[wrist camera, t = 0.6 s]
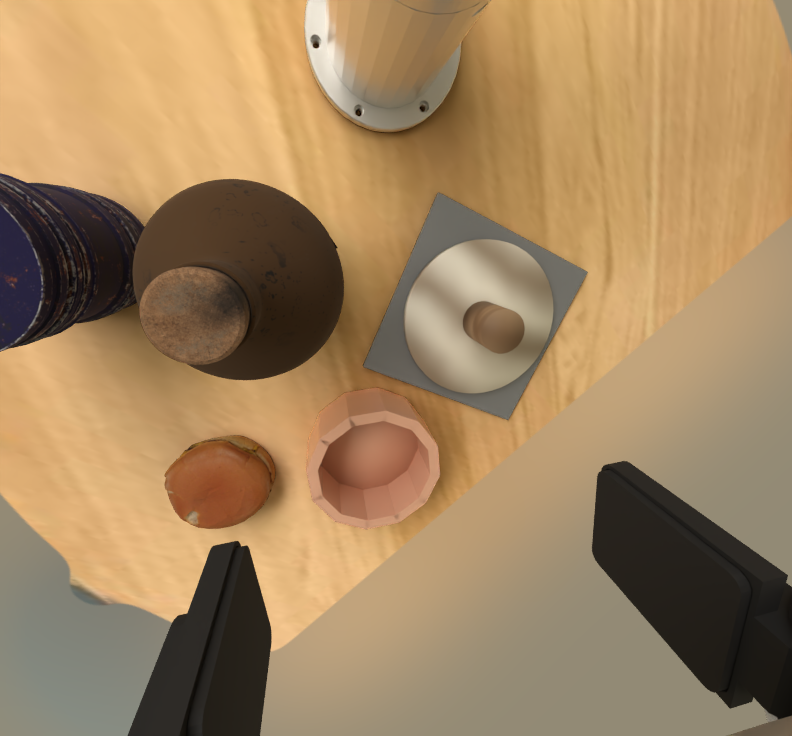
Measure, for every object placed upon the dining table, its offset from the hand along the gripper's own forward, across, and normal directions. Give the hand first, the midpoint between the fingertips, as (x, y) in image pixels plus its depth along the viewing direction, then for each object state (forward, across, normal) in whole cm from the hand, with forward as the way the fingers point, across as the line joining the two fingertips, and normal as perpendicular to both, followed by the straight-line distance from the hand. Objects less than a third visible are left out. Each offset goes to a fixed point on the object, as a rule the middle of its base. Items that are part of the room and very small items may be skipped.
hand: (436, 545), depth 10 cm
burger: (+31, +15, +14) cm, 37 cm away
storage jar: (+31, +21, -9) cm, 38 cm away
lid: (+30, -13, +1) cm, 33 cm away
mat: (+30, -13, +1) cm, 33 cm away
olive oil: (+31, +6, -6) cm, 32 cm away
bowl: (+31, 0, +14) cm, 33 cm away
